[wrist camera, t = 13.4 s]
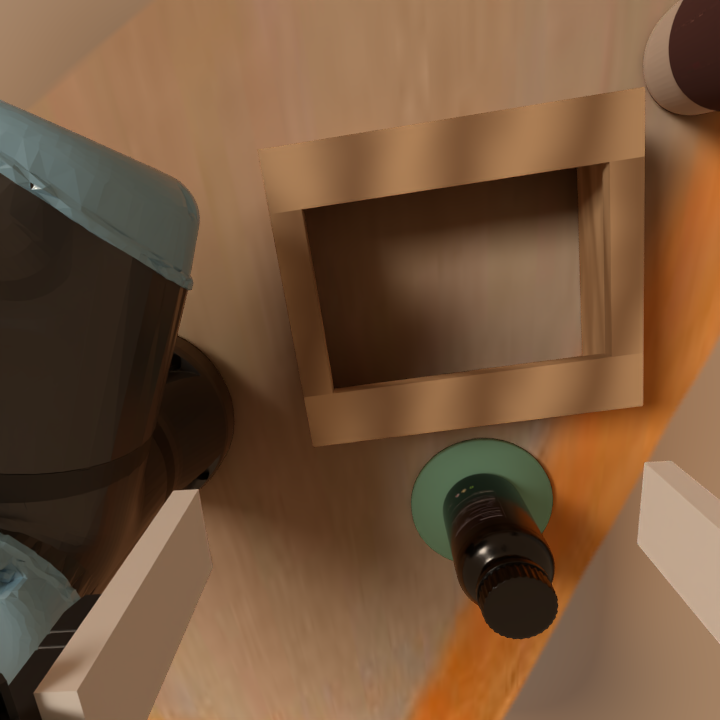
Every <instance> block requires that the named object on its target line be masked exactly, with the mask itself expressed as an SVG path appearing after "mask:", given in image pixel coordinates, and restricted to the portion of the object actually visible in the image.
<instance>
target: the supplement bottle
mask: <svg viewBox="0 0 720 720" xmlns="http://www.w3.org/2000/svg"><path fill="white" fill-rule="evenodd" d="M443 519H444V523H445V528H446V532H447V536H448V541H449V545H450V549H451V553H452V557H453V561H454V566H455V570H456V574H457V578H458V581H459V584H460V586H461V588H462V590H463V591H464V593H465V594H466V595H467V597H468V598H469V599H470V600H471V601H473V602H474V603H475V604H477V605H478V606H479V607H480V609H481V612H482V615H483V617H484V619H485V622H486V623H487V624H488V625H489V627H490V628H491V629H493V630H494V632H496V633H499V634H500V635H501V636H505V637H507V638H513V639H524V638H530V637H532V636H536V635H537V634H539V633H542V632H543V631H544V630H545V629H548V627H549V625H551V624H552V622H553V620H554V619H555V618H556V614H557V612H558V611H557V608H558V603H557V601H558V599H557V596H556V594H555V591H554V589H553V587H552V582H553V578H554V572H555V565H554V558H553V555H552V553H551V550H550V548H549V546H548V544H547V542H546V541H545V539H544V537H543V535H542V533H541V531H540V530H539V528H538V526H537V524H536V522H535V520H534V518H533V517H532V515H531V513H530V511H529V509H528V507H527V506H526V504H525V502H524V500H523V498H522V497H521V495H520V493H519V492H518V490H517V489H516V488H515V486H514V485H513V484H512V483H510V482H509V481H508V480H506V479H505V478H503V477H501V476H498V475H494V474H489V473H479V474H473V475H470V476H467V477H465V478H463V479H461V480H460V481H458V482H457V483H456V484H455V485H453V486H452V488H451V489H450V490H449V492H448V493H447V495H446V497H445V500H444V503H443Z"/></svg>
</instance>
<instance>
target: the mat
mask: <svg viewBox="0 0 720 720" xmlns="http://www.w3.org/2000/svg"><path fill="white" fill-rule="evenodd" d="M479 473H489V474H494V475H498V476H501V477H503V478H505V479H506V480H508V481H509V482H510V483H512V484H513V485H514V486H515V488H516V489H517V490H518V492H519V493H520V495H521V497H522V498H523V500H524V502H525V504H526V506H527V507H528V509H529V511H530V513H531V515H532V517H533V518H534V520H535V522H536V524H537V526H538V528H539V530H540V531H541V533H542V532H543V531H544V529H545V528H546V526H547V524H548V521H549V519H550V515H551V512H552V506H553V495H552V488H551V485H550V481H549V479H548V477H547V475H546V473H545V471H544V470H543V468H542V467H541V465H540V464H539V463H538V462H537V460H536V459H535V458H534V457H533V456H532V455H530V454H529V453H528V452H527V451H525V450H524V449H522V448H521V447H519V446H517V445H514V444H512V443H509V442H506V441H503V440H498V439H489V438H479V439H471V440H465V441H462V442H459V443H456V444H454V445H451V446H449V447H447V448H445V449H444V450H442V451H440V452H439V453H438V454H436V455H435V456H434V457H433V458H432V459H431V460H430V461H429V462H428V463H427V464H426V465H425V466H424V467H423V469H422V470H421V472H420V473H419V475H418V477H417V479H416V481H415V484H414V487H413V491H412V497H411V508H412V515H413V520H414V523H415V526H416V529H417V531H418V532H419V534H420V536H421V537H422V539H423V540H424V541H425V543H426V544H427V545H428V546H429V547H430V548H432V549H433V550H434V551H435V552H437V553H438V554H440V555H442V556H443V557H445V558H448V559H450V560H452V561H453V557H452V553H451V549H450V545H449V541H448V536H447V532H446V528H445V523H444V519H443V503H444V500H445V497H446V495H447V493H448V492H449V490H450V489H451V488H452V486H453V485H455V484H456V483H457V482H458V481H460V480H461V479H463V478H465V477H467V476H470V475H473V474H479Z"/></svg>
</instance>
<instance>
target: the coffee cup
mask: <svg viewBox="0 0 720 720" xmlns="http://www.w3.org/2000/svg"><path fill="white" fill-rule="evenodd" d="M643 73H644V79H645V83H646V86H647V88H648V91H649V92H650V94H651V95H652V97H653V99H654V100H655V101H656V102H657V103H658V104H659V105H660V106H662V107H663V108H665V109H666V110H668V111H671V112H673V113H677V114H682V115H698V114H704V113H709V112H714V111H720V0H680V1H678V2H677V3H676V4H675V5H674V6H673V7H671V8H670V9H669V10H668V11H667V12H666V13H665V14H664V15H663V16H662V18H661V19H660V20H659V21H658V23H657V24H656V26H655V28H654V29H653V31H652V33H651V35H650V37H649V39H648V42H647V44H646V48H645V52H644V57H643Z"/></svg>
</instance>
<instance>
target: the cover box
mask: <svg viewBox="0 0 720 720" xmlns="http://www.w3.org/2000/svg"><path fill="white" fill-rule="evenodd" d="M257 151H258V156H259V162H260V167H261V172H262V178H263V183H264V188H265V194H266V199H267V204H268V210H269V215H270V220H271V226H272V231H273V236H274V242H275V247H276V252H277V258H278V263H279V268H280V274H281V279H282V284H283V290H284V295H285V300H286V306H287V311H288V316H289V322H290V327H291V332H292V338H293V343H294V348H295V354H296V359H297V364H298V370H299V375H300V380H301V386H302V391H303V396H304V402H305V407H306V412H307V418H308V423H309V428H310V434H311V439H312V444H313V447H318V446H326V445H334V444H342V443H350V442H358V441H366V440H374V439H382V438H390V437H398V436H406V435H414V434H422V433H430V432H438V431H446V430H454V429H462V428H470V427H478V426H486V425H494V424H502V423H510V422H518V421H526V420H534V419H542V418H550V417H558V416H566V415H574V414H582V413H590V412H598V411H606V410H614V409H622V408H630V407H638V406H643V342H644V194H645V87H641V88H635V89H629V90H623V91H617V92H611V93H604V94H598V95H592V96H586V97H580V98H573V99H567V100H561V101H555V102H549V103H543V104H536V105H530V106H524V107H518V108H512V109H506V110H499V111H493V112H487V113H481V114H475V115H469V116H462V117H456V118H450V119H444V120H438V121H432V122H425V123H419V124H413V125H407V126H401V127H395V128H388V129H382V130H376V131H370V132H364V133H358V134H351V135H345V136H339V137H333V138H327V139H321V140H314V141H308V142H302V143H296V144H290V145H284V146H277V147H271V148H265V149H259V150H257ZM576 167H577V187H578V223H579V260H580V296H581V332H582V356H578V357H571V358H563V359H556V360H548V361H540V362H533V363H525V364H518V365H510V366H502V367H495V368H487V369H480V370H472V371H464V372H457V373H449V374H442V375H434V376H426V377H419V378H411V379H404V380H396V381H388V382H381V383H373V384H366V385H358V386H351V387H343V388H335V389H334V386H333V380H332V374H331V368H330V362H329V356H328V350H327V344H326V338H325V333H324V327H323V321H322V315H321V309H320V303H319V297H318V291H317V285H316V279H315V274H314V268H313V262H312V256H311V250H310V244H309V238H308V232H307V226H306V220H305V214H304V209H310V208H316V207H323V206H329V205H336V204H342V203H349V202H355V201H362V200H368V199H375V198H381V197H388V196H394V195H401V194H407V193H414V192H420V191H427V190H433V189H440V188H446V187H453V186H459V185H466V184H472V183H479V182H485V181H492V180H498V179H505V178H511V177H518V176H524V175H531V174H537V173H544V172H550V171H557V170H563V169H570V168H576Z"/></svg>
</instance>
